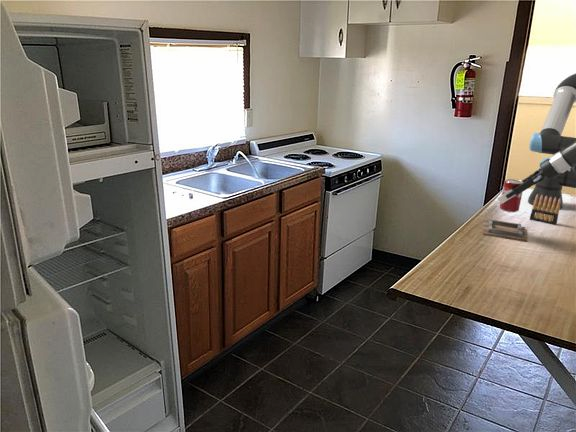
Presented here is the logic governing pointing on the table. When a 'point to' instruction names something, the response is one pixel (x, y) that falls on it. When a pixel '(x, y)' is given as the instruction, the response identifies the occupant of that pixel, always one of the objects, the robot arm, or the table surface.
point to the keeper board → (504, 230)
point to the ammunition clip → (547, 213)
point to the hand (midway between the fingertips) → (501, 198)
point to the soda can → (514, 202)
